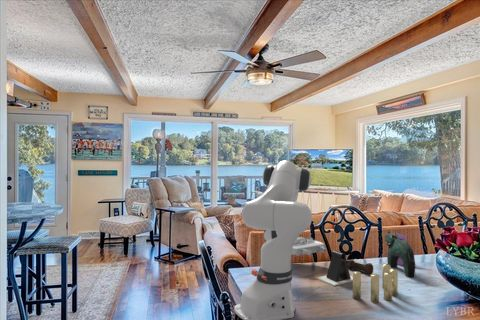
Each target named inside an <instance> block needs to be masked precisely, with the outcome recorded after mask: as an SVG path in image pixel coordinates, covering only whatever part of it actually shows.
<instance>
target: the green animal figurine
mask: <svg viewBox="0 0 480 320" xmlns="http://www.w3.org/2000/svg"><path fill="white" fill-rule="evenodd" d="M395 232H397V233H392V232H390V231H389V230H387V233H386V234H385V236H384V243H385V245H386V246H388V248H387V257H386V258H387V259H386V260H387V264H389V265H390V268H392V269H395V268H398V265H397V262H398V259H399V258H401V260H402V261H403V265H402V266H403V269H404V274H405V277H406V278H415V273H416V260H415V253H414V250H413V247H412V245H411V244H410V243H409V241H408V240H407V241H406V240H405V239H400V238H399V236H398V235H397V234H401V233H400V230H399V229H395Z"/></svg>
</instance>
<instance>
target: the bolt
mask: <svg viewBox="0 0 480 320" xmlns="http://www.w3.org/2000/svg"><path fill="white" fill-rule="evenodd" d="M346 263H347V267H348V270H357V271H361V272H364V273H365V275H367V276H371V274H374V265H373V264H372V263H370V262H369V263H366V264H363V263H359V262H355V260H353V259H349V260H348V259H346Z"/></svg>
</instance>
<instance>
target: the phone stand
mask: <svg viewBox="0 0 480 320" xmlns="http://www.w3.org/2000/svg"><path fill="white" fill-rule="evenodd" d="M346 260H347V256H346V254H345V253H344V252H342V251H337V250H332V251H331V258H330V262H329V266H328V269H327V273H326V275H327V276H326V277H327V278H329V279H331V280H333V281H335V282H338V281H343V280H348V279H351V277H350V275H351V274H350V271H349V270H350V269H348V267H347V263H346Z"/></svg>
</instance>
